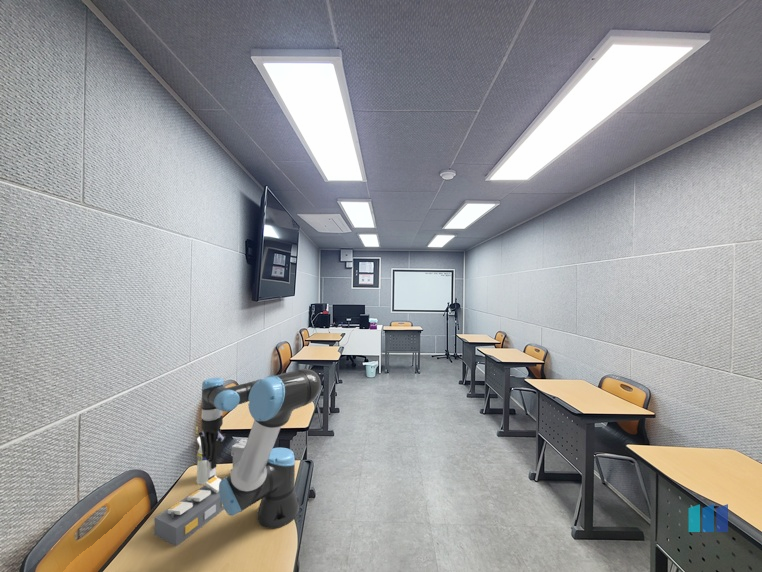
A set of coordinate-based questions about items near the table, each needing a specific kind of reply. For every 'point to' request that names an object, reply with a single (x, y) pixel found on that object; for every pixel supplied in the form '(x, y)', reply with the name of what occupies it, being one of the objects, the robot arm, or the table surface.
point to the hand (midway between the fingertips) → (211, 475)
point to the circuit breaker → (238, 451)
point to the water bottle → (201, 465)
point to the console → (187, 518)
